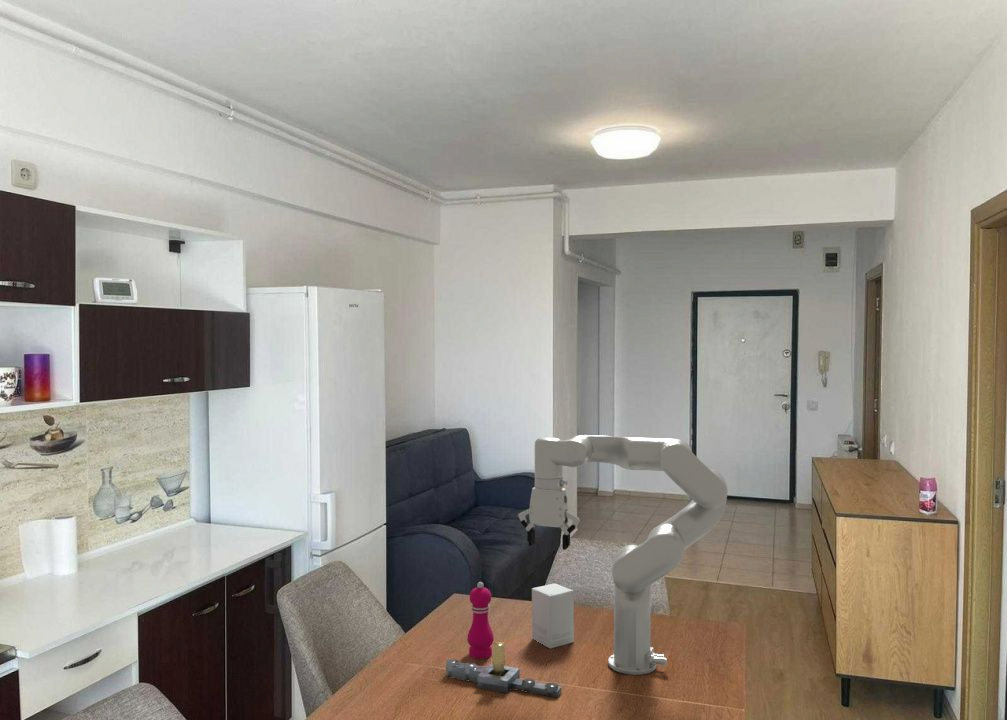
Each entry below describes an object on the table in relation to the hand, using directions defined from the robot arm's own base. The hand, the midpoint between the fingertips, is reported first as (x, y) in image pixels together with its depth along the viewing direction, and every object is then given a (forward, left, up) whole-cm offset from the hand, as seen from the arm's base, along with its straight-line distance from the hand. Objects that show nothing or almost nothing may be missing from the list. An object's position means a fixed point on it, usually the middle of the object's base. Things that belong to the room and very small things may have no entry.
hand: (548, 546), depth 209 cm
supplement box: (+3, -12, -31) cm, 33 cm away
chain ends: (+6, +20, -30) cm, 37 cm away
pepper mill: (+18, +5, -31) cm, 36 cm away
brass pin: (+6, +20, -30) cm, 37 cm away
